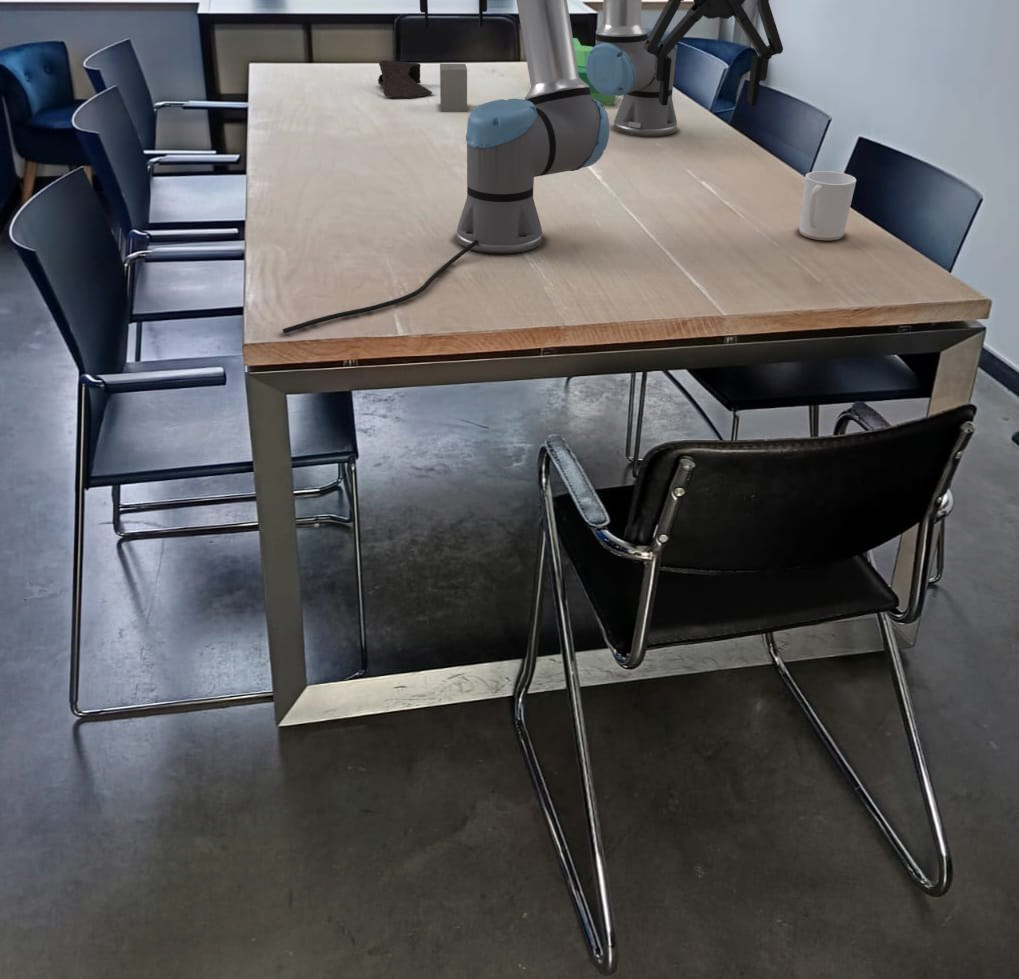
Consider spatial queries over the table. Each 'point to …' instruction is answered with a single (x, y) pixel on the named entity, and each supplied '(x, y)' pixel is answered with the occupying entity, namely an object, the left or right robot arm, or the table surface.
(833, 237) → the mug
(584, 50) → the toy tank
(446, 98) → the brick
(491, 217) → the left robot arm
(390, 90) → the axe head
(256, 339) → the table surface
